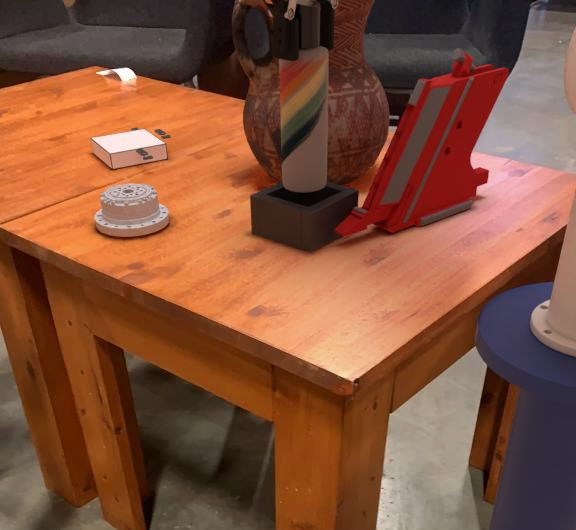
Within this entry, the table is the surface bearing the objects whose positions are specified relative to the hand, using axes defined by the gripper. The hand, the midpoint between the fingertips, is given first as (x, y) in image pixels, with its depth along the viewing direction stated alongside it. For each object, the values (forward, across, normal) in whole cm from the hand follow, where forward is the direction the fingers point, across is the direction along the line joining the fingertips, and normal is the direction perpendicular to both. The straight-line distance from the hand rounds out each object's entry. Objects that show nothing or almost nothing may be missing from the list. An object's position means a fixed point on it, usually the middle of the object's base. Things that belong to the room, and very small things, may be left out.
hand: (304, 52), depth 88 cm
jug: (+21, +18, +12) cm, 30 cm away
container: (+21, +8, +42) cm, 48 cm away
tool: (+21, +12, -10) cm, 26 cm away
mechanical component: (+21, -12, +20) cm, 32 cm away
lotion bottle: (+15, 0, 0) cm, 15 cm away
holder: (+21, 0, 0) cm, 21 cm away
